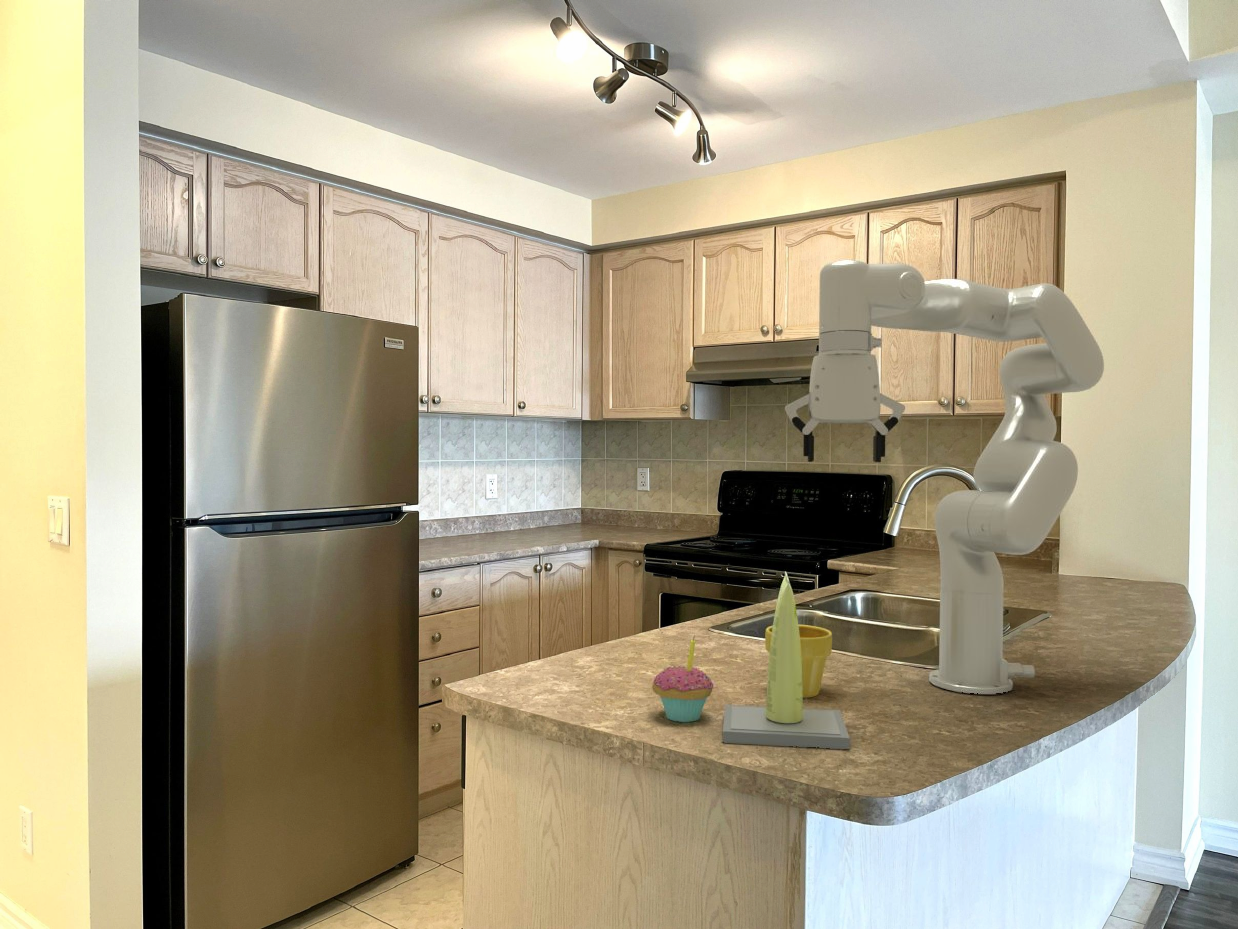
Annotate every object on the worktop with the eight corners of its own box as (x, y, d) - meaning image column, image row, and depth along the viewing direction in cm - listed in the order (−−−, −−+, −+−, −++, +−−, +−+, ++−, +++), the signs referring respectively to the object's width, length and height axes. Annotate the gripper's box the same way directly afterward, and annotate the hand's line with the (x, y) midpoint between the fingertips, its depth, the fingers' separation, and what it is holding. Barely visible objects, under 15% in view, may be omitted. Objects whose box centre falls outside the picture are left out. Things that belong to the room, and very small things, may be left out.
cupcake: (724, 717, 124) (725, 633, 124) (687, 731, 118) (688, 642, 118) (677, 704, 130) (678, 624, 130) (639, 717, 124) (640, 632, 123)
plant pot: (845, 696, 135) (846, 633, 135) (794, 705, 130) (795, 639, 130) (800, 680, 144) (801, 621, 144) (751, 688, 139) (751, 627, 139)
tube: (814, 721, 117) (815, 576, 117) (786, 728, 114) (788, 579, 114) (784, 711, 122) (785, 571, 121) (757, 717, 119) (758, 574, 119)
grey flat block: (839, 720, 123) (839, 709, 123) (849, 749, 111) (849, 737, 111) (725, 715, 125) (725, 704, 125) (722, 742, 113) (722, 730, 113)
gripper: (900, 348, 132) (899, 462, 132) (784, 350, 134) (783, 461, 135) (910, 342, 124) (908, 462, 125) (786, 344, 127) (785, 461, 127)
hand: (843, 461), depth 130 cm, fingers open, 9 cm apart
